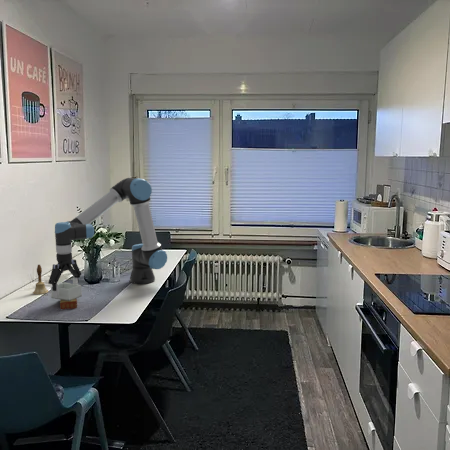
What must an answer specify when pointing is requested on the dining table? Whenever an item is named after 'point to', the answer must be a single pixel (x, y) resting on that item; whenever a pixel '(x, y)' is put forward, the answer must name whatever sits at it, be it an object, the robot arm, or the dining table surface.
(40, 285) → the hand bell
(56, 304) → the dining table surface
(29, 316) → the dining table surface
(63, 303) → the carton
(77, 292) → the crate
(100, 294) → the dining table surface
